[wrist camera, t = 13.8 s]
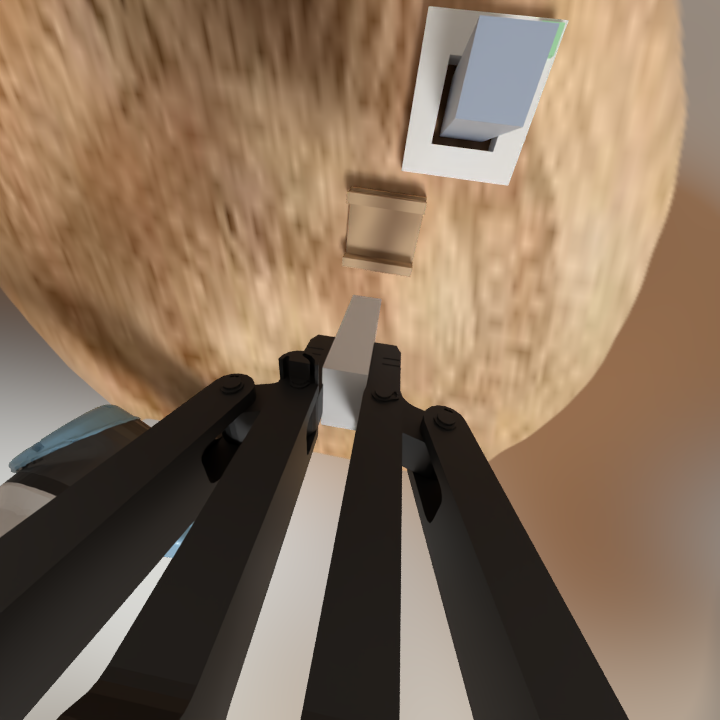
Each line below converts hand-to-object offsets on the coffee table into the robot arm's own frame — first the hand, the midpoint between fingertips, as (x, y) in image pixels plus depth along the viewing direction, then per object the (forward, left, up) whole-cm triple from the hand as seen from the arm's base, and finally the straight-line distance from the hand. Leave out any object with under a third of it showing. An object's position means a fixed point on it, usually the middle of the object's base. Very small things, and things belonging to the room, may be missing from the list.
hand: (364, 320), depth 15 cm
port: (+5, +12, -21) cm, 25 cm away
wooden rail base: (-1, +1, -21) cm, 21 cm away
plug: (+5, +12, -21) cm, 25 cm away
